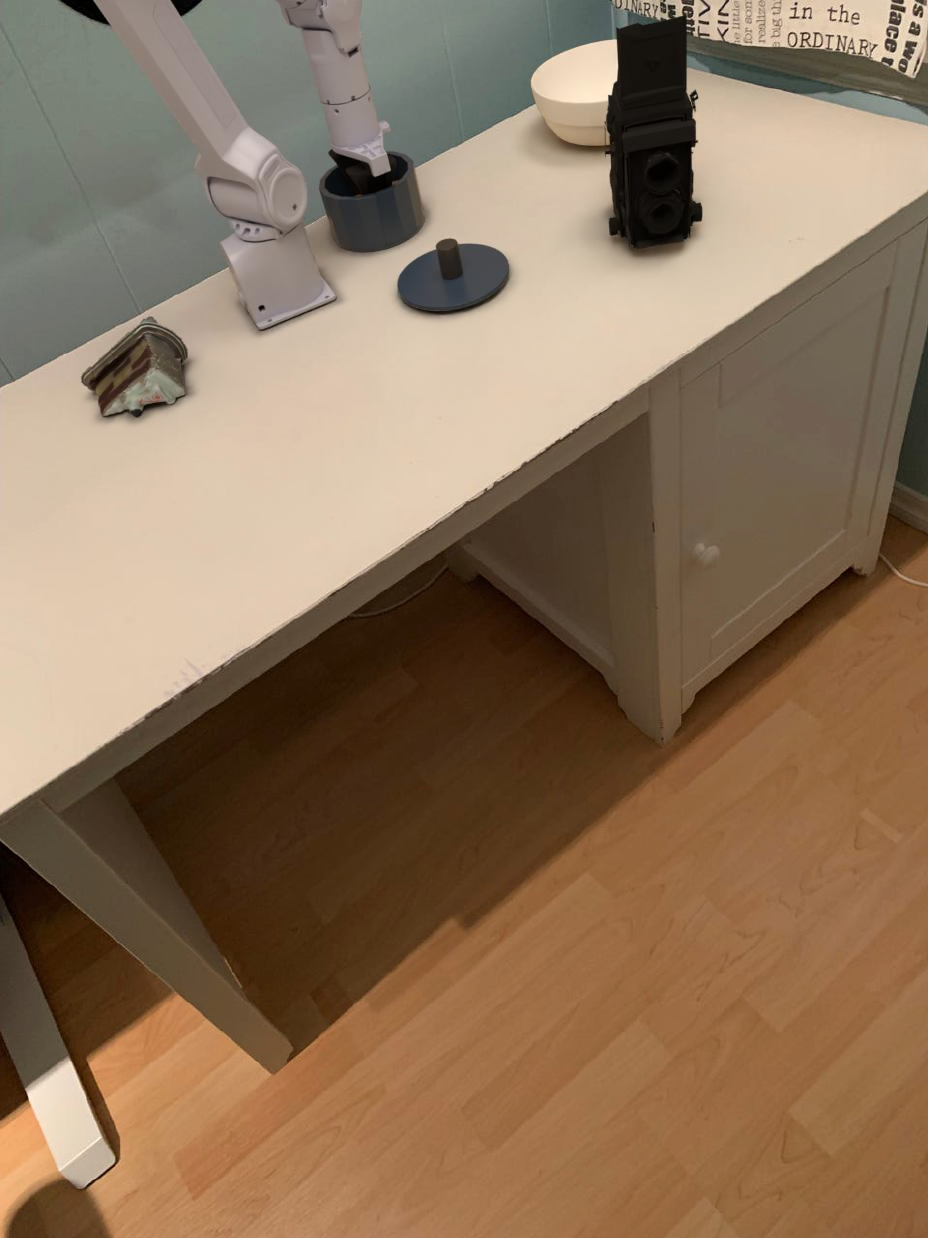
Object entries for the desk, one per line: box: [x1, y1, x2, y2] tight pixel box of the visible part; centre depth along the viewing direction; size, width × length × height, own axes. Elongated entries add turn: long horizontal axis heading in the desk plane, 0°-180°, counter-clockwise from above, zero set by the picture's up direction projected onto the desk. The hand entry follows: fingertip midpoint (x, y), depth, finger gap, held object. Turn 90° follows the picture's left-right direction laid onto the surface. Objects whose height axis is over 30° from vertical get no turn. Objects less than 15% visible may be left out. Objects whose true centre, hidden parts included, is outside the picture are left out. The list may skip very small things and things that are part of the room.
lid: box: [396, 237, 510, 312], centre depth 95 cm, size 12×12×5 cm
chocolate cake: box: [80, 315, 189, 417], centre depth 93 cm, size 10×7×12 cm
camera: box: [604, 14, 703, 250], centre depth 89 cm, size 10×14×20 cm
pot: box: [318, 150, 426, 253], centre depth 106 cm, size 11×11×6 cm
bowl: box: [530, 38, 618, 147], centre depth 111 cm, size 18×18×7 cm
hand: (375, 213), depth 107 cm, fingers open, 4 cm apart
